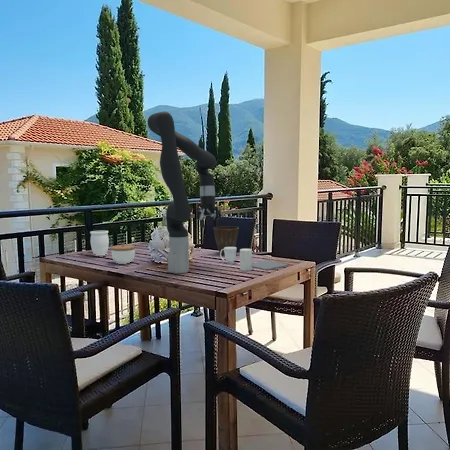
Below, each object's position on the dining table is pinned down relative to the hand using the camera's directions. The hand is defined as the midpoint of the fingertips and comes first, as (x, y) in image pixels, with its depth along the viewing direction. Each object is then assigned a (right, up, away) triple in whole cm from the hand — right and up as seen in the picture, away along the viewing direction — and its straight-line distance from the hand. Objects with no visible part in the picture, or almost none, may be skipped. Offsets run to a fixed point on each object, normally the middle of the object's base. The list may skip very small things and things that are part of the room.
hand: (209, 227), depth 212 cm
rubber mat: (+29, -20, +4) cm, 35 cm away
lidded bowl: (-46, -20, +15) cm, 53 cm away
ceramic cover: (+18, -21, -4) cm, 28 cm away
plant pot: (+9, -16, +39) cm, 43 cm away
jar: (-65, -17, +37) cm, 77 cm away
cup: (+10, -19, +14) cm, 26 cm away
